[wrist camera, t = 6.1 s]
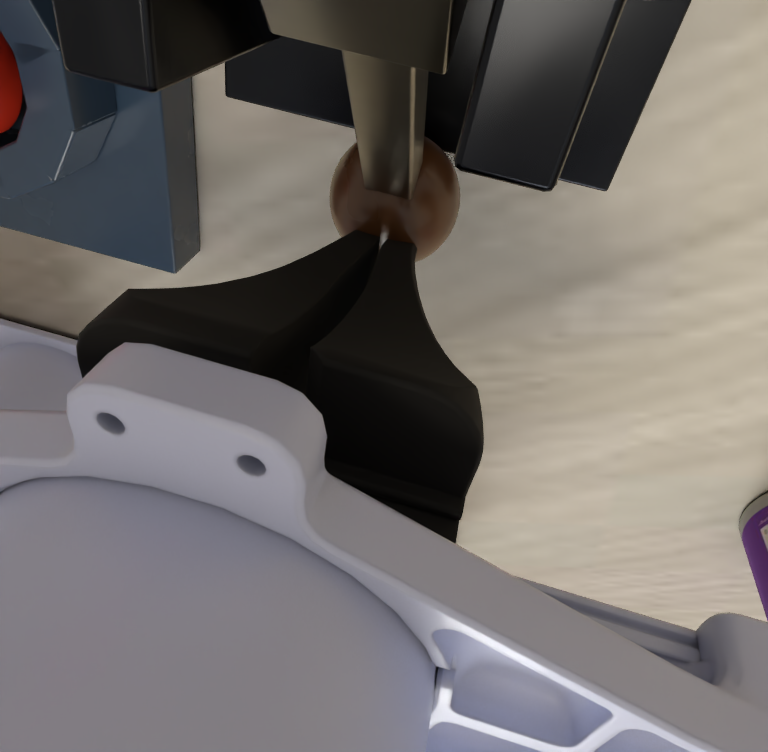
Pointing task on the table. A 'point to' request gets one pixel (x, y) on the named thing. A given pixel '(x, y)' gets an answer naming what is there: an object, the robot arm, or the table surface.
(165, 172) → the button box
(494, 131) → the switch bracket
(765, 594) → the container
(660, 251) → the table surface
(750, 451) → the table surface
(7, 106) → the button
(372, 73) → the lever
